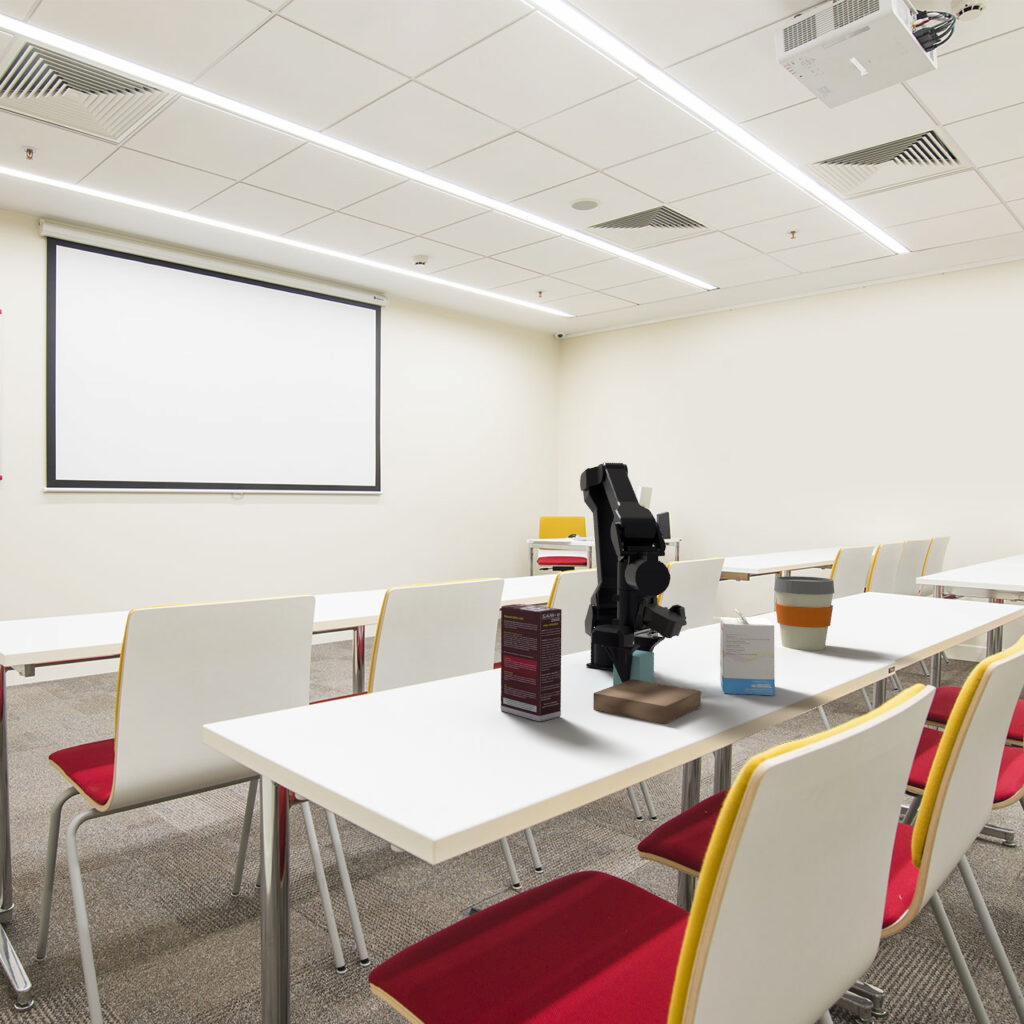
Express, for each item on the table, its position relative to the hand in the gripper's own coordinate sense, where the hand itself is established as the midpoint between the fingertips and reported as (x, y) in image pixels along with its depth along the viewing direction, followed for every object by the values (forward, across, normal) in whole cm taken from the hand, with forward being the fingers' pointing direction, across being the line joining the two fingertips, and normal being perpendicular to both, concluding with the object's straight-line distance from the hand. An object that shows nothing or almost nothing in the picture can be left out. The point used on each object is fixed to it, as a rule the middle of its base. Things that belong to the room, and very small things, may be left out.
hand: (633, 680), depth 130 cm
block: (+1, 0, 0) cm, 1 cm away
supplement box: (+1, -24, +4) cm, 24 cm away
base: (+1, -10, -8) cm, 13 cm away
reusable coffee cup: (+1, +59, -10) cm, 60 cm away
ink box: (+2, +12, -15) cm, 19 cm away
